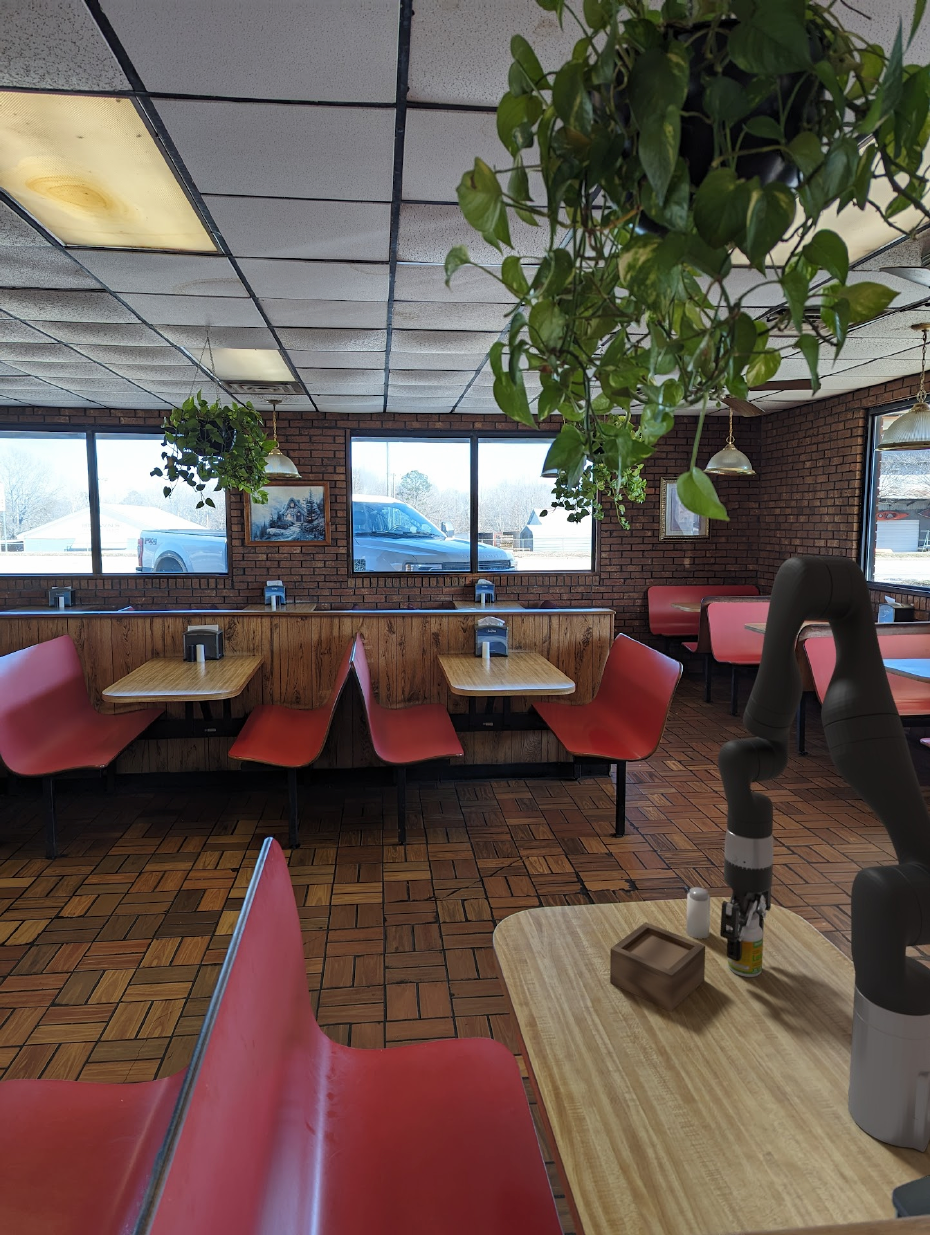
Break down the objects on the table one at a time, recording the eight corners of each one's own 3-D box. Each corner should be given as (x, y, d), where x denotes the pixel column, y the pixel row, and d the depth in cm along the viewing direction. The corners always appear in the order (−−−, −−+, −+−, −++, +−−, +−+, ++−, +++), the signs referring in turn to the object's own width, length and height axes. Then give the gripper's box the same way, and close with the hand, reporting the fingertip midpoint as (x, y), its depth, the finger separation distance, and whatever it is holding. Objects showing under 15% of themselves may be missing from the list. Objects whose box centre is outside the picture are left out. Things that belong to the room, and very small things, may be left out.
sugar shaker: (713, 932, 139) (714, 891, 138) (702, 941, 136) (704, 899, 135) (692, 924, 142) (693, 884, 141) (682, 933, 139) (683, 892, 138)
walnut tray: (704, 979, 125) (705, 945, 124) (671, 1011, 117) (671, 975, 116) (645, 954, 133) (645, 922, 132) (610, 982, 125) (610, 948, 124)
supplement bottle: (756, 982, 124) (758, 926, 123) (723, 970, 128) (724, 916, 126) (765, 966, 129) (767, 912, 127) (733, 955, 132) (735, 903, 131)
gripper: (752, 878, 118) (749, 976, 120) (788, 848, 128) (784, 939, 130) (707, 864, 123) (704, 957, 125) (744, 836, 133) (741, 923, 135)
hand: (745, 948), depth 128 cm, fingers open, 8 cm apart
